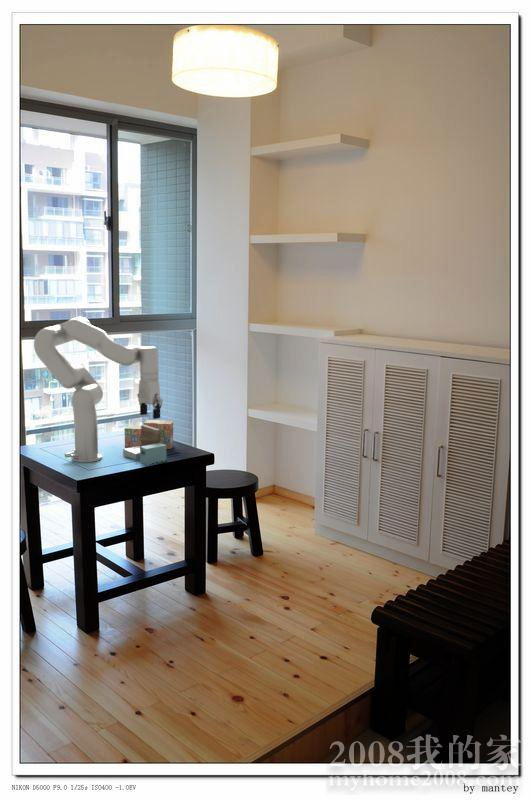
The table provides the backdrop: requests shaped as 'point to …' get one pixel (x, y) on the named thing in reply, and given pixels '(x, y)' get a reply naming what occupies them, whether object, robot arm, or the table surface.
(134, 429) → the stack of blocks
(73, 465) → the table surface
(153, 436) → the wooden bookend
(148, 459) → the teal cabinet
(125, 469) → the table surface
